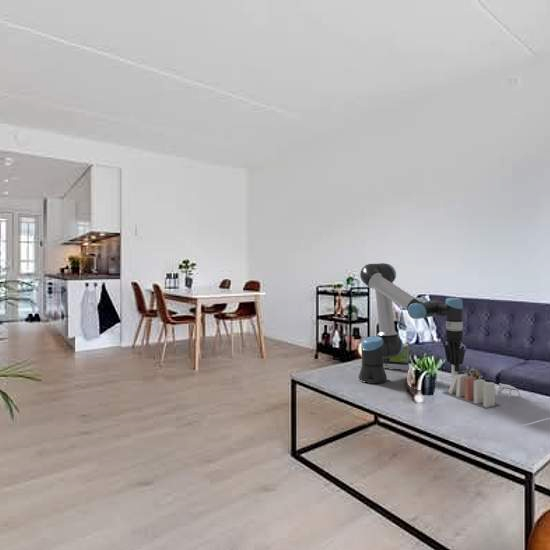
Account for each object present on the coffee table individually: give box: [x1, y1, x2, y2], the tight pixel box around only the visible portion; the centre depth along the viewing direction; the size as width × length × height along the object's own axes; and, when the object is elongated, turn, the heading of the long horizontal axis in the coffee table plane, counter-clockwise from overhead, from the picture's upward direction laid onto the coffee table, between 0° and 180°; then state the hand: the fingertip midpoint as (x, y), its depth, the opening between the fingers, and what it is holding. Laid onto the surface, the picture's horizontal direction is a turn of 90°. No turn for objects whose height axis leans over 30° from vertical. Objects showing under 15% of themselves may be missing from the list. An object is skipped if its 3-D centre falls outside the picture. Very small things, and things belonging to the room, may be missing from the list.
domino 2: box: [456, 373, 468, 397], centre depth 192 cm, size 2×5×10 cm, turn 114°
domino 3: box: [465, 377, 476, 400], centre depth 188 cm, size 2×5×10 cm, turn 114°
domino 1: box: [447, 373, 464, 394], centre depth 195 cm, size 2×5×10 cm, turn 114°
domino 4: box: [474, 378, 486, 404], centre depth 184 cm, size 2×5×10 cm, turn 114°
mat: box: [441, 390, 502, 410], centre depth 188 cm, size 25×10×1 cm, turn 24°
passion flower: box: [460, 365, 483, 380], centre depth 211 cm, size 11×11×12 cm
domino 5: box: [483, 381, 496, 407], centre depth 179 cm, size 2×5×10 cm, turn 114°
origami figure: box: [497, 382, 522, 400], centre depth 191 cm, size 12×8×5 cm
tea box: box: [383, 343, 410, 371], centre depth 246 cm, size 15×10×15 cm, turn 66°
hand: (454, 377), depth 196 cm, fingers closed
